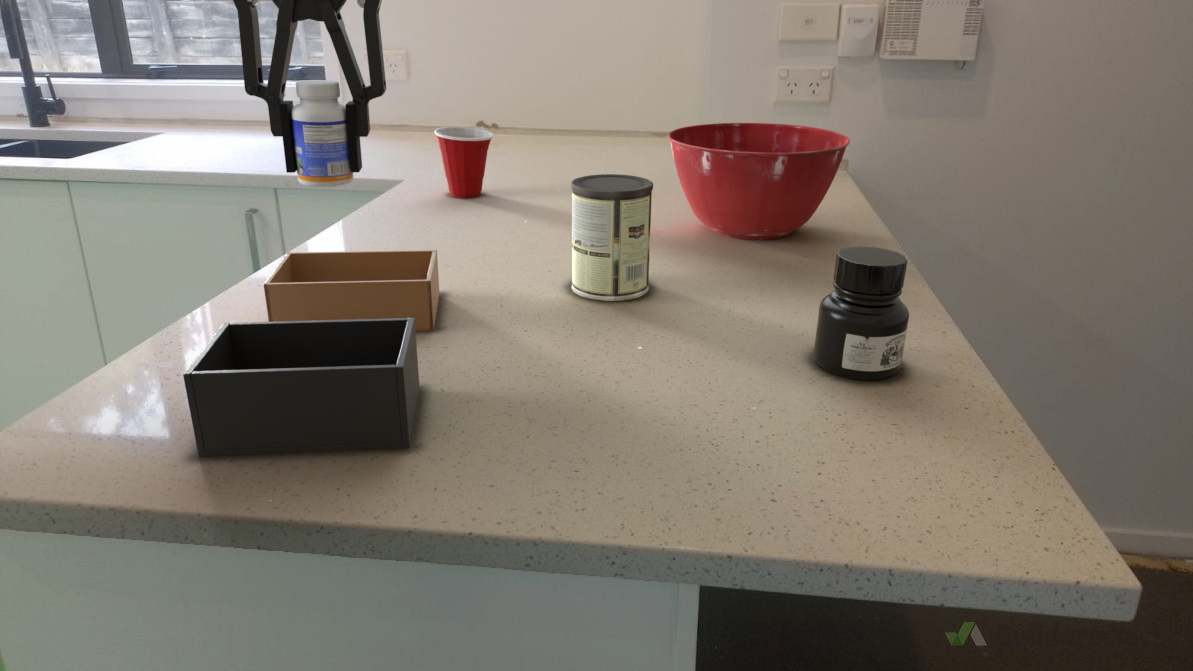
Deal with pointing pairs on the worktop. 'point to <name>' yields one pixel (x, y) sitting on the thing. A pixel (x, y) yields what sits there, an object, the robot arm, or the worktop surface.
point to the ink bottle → (863, 315)
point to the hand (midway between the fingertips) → (325, 169)
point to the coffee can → (611, 236)
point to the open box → (305, 387)
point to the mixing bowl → (755, 175)
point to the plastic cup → (464, 158)
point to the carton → (355, 286)
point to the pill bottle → (320, 135)
